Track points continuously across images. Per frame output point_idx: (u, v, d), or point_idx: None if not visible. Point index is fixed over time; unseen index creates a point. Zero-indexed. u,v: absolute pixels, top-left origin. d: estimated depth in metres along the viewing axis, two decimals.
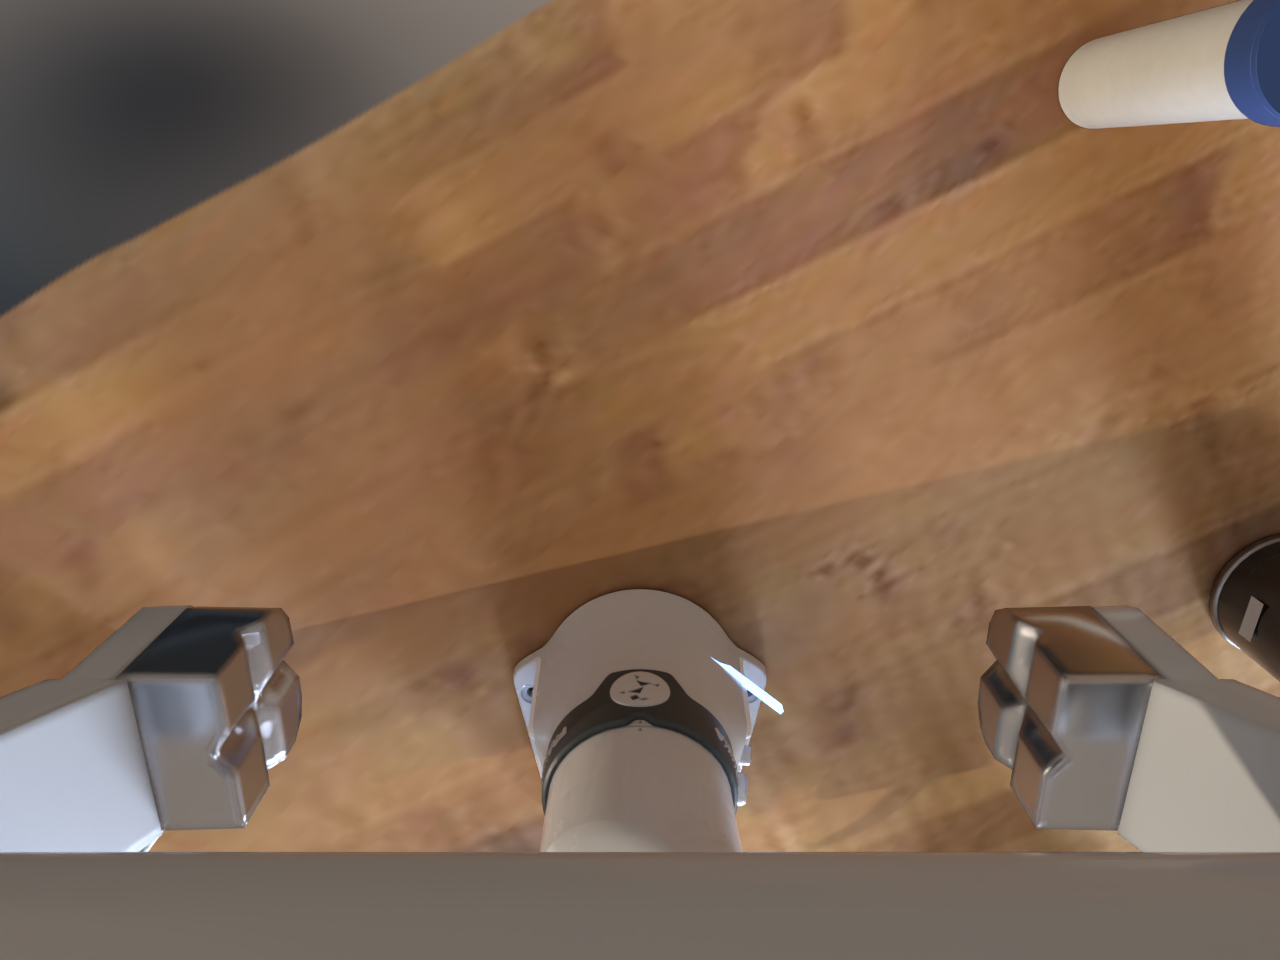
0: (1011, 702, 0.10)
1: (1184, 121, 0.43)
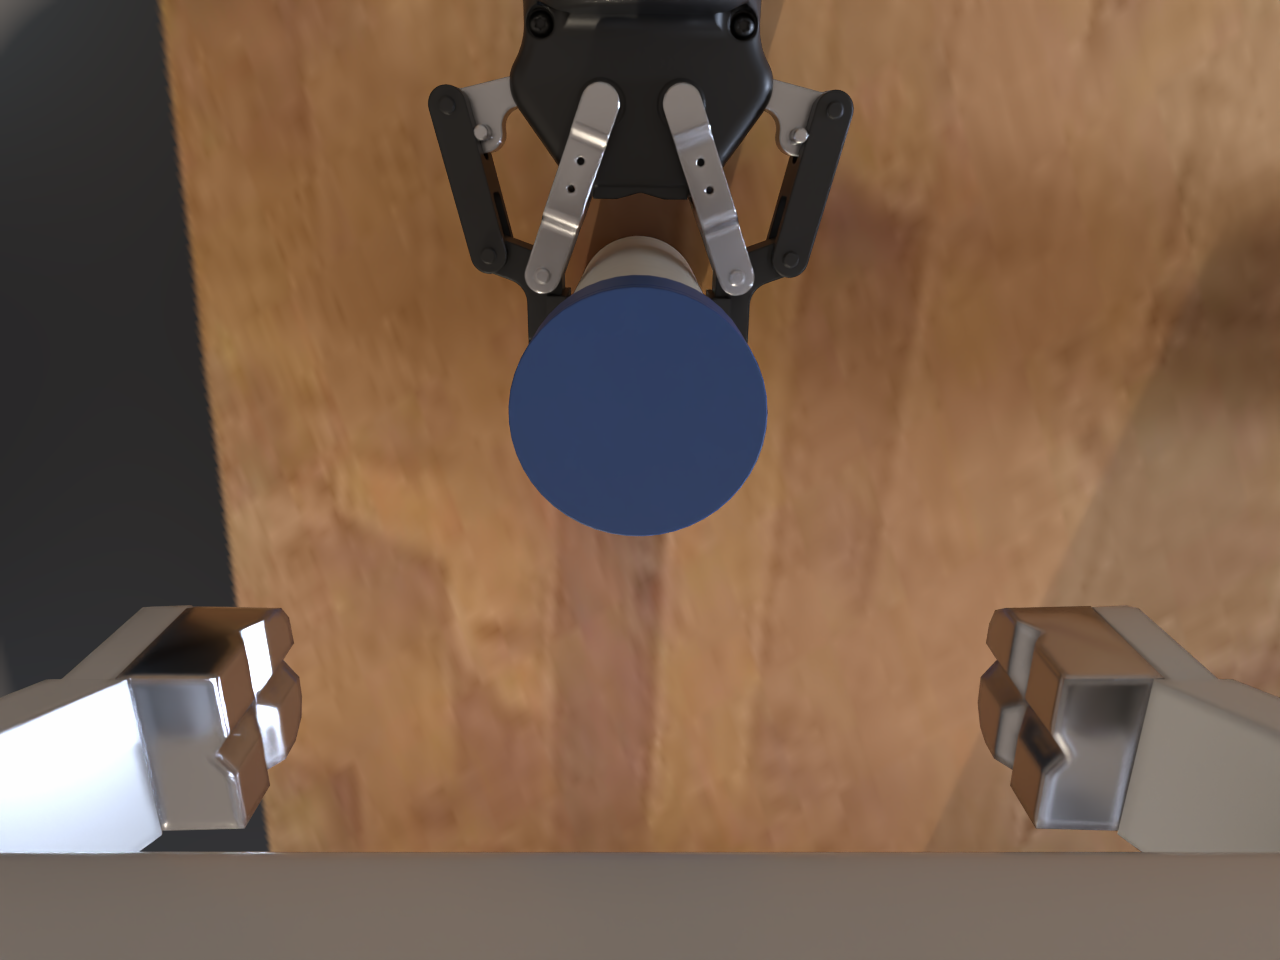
0: (1012, 702, 0.10)
1: None
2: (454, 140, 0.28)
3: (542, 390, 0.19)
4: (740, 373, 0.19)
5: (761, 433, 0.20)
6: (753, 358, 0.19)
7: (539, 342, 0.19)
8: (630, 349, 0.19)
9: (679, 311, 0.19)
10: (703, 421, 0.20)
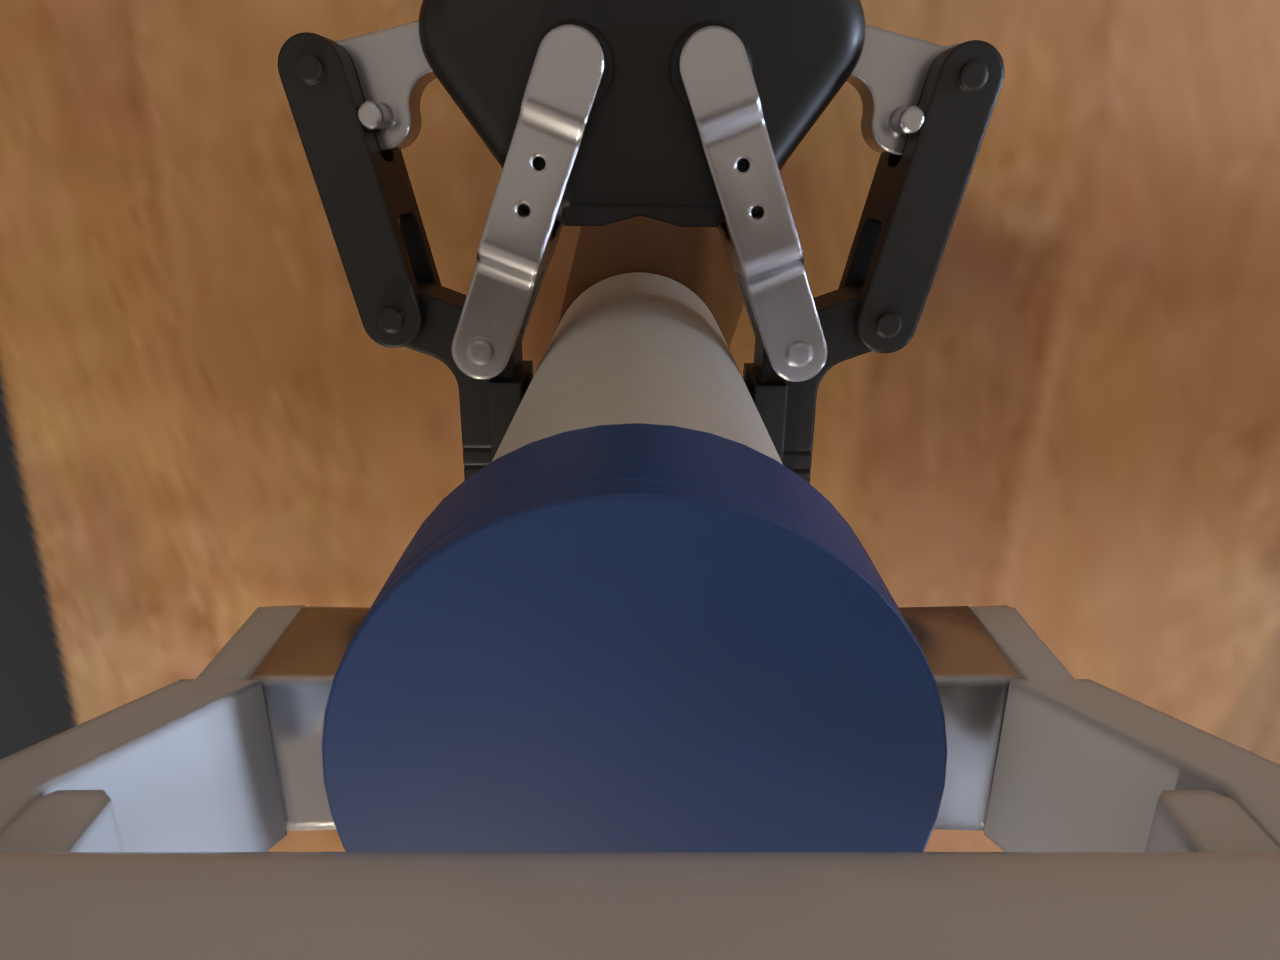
0: None
1: None
2: (325, 129, 0.17)
3: (403, 717, 0.08)
4: (891, 701, 0.08)
5: (926, 828, 0.08)
6: (928, 671, 0.08)
7: (394, 612, 0.08)
8: (623, 637, 0.08)
9: (753, 557, 0.07)
10: (790, 798, 0.08)
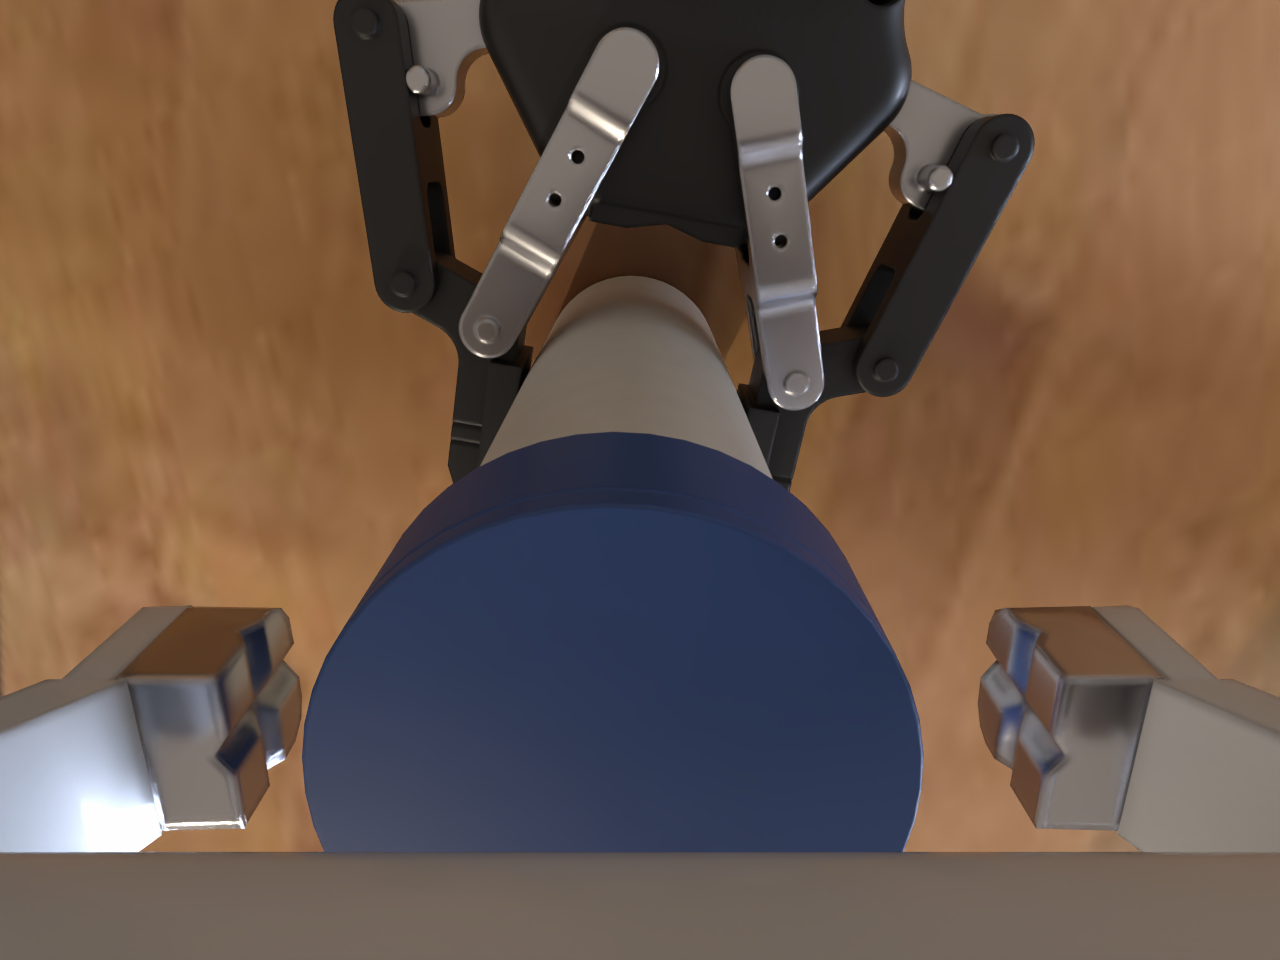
0: (1011, 702, 0.10)
1: None
2: (371, 85, 0.17)
3: None
4: (609, 551, 0.07)
5: (783, 561, 0.07)
6: (584, 509, 0.07)
7: None
8: (451, 746, 0.08)
9: (402, 623, 0.08)
10: (687, 671, 0.08)
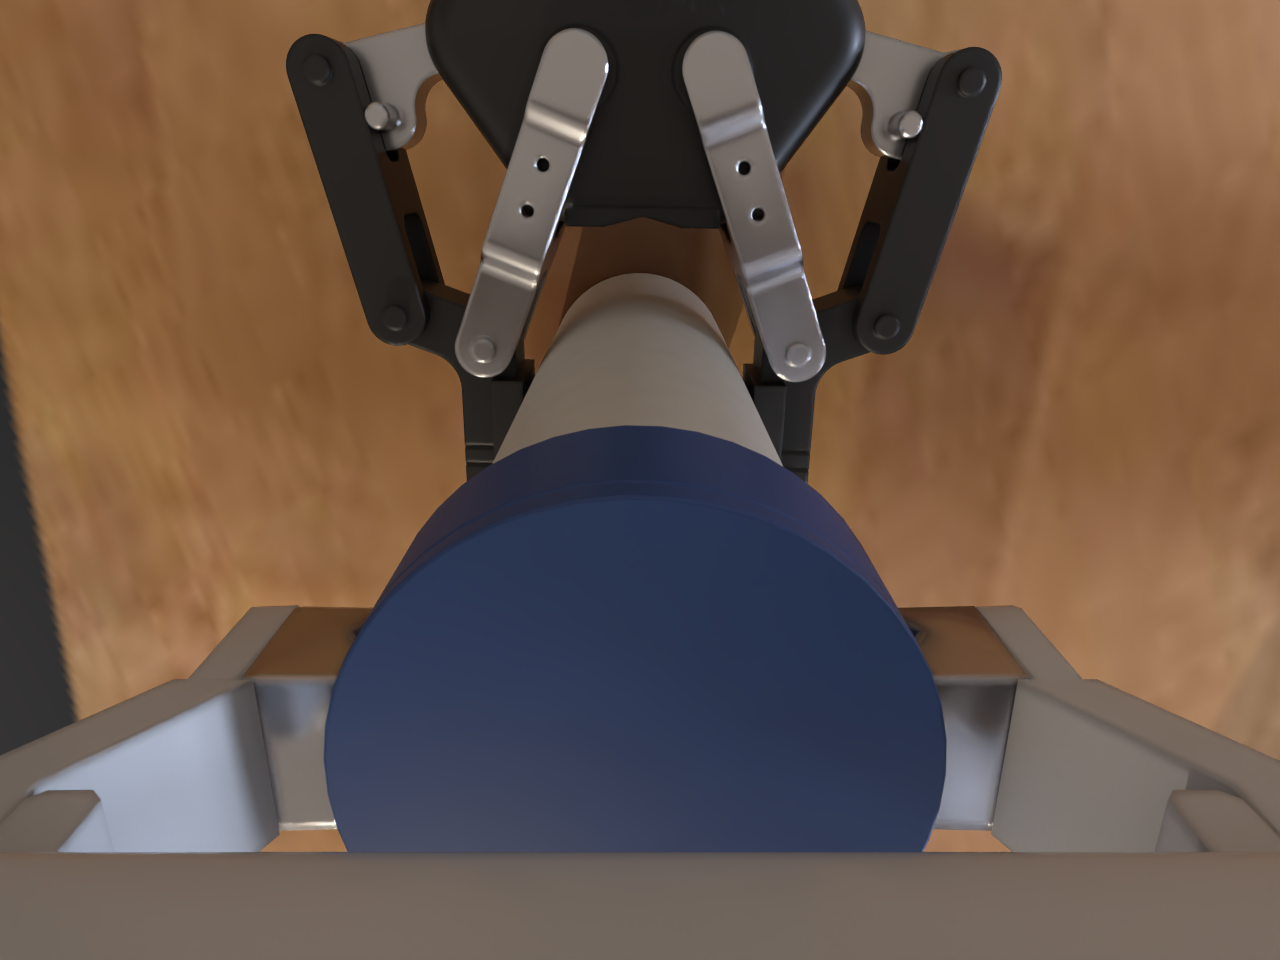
0: None
1: None
2: (332, 129, 0.17)
3: None
4: (587, 547, 0.07)
5: (763, 531, 0.07)
6: (555, 509, 0.07)
7: None
8: (469, 762, 0.08)
9: (399, 647, 0.08)
10: (687, 655, 0.08)
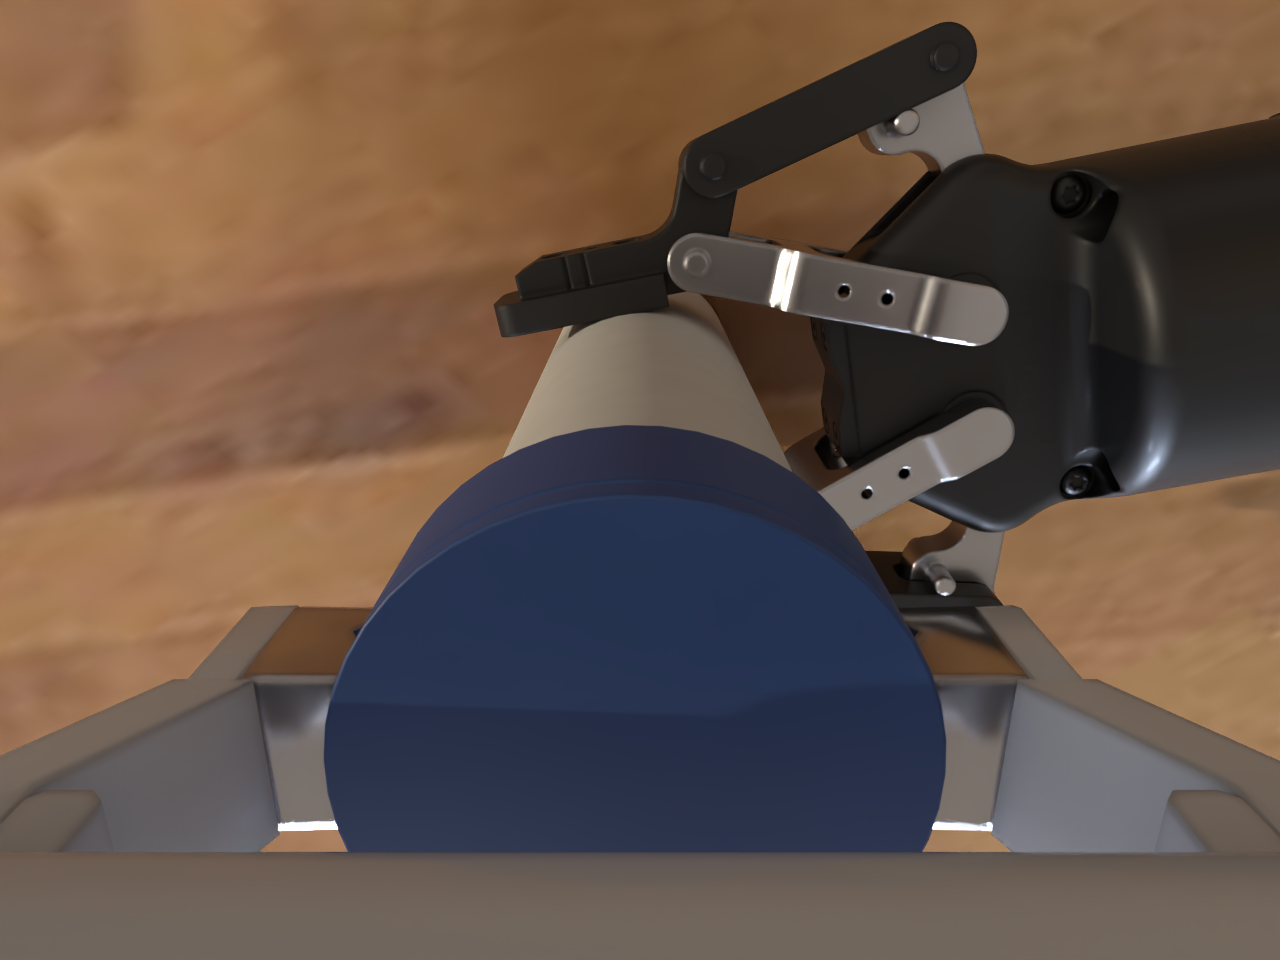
0: None
1: None
2: (891, 78, 0.17)
3: None
4: (586, 546, 0.07)
5: (762, 530, 0.07)
6: (554, 508, 0.07)
7: None
8: (468, 761, 0.08)
9: (398, 647, 0.08)
10: (686, 655, 0.08)
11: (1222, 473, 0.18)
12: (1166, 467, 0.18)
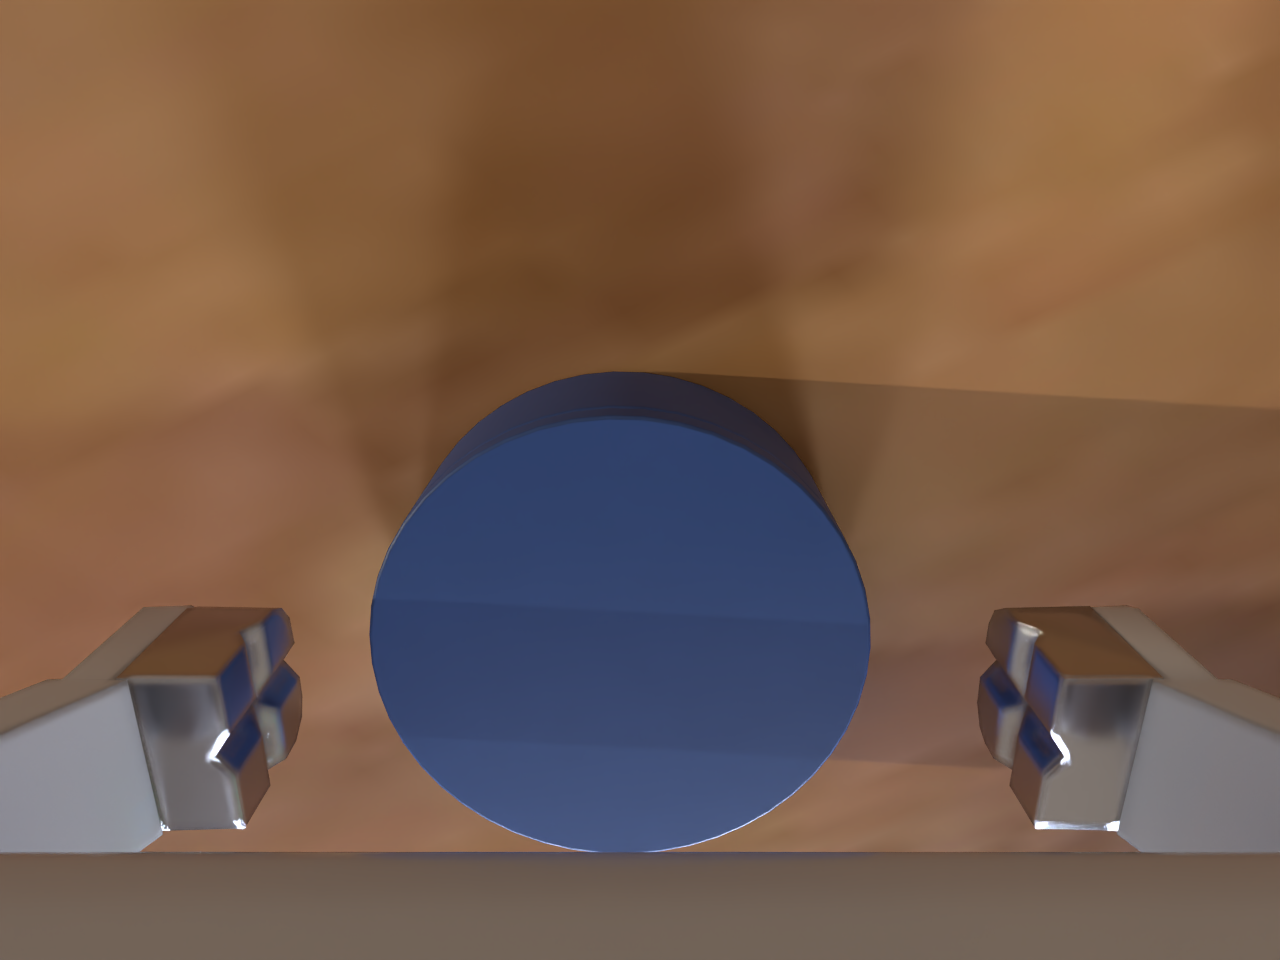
0: (1012, 703, 0.10)
1: None
2: None
3: (526, 788, 0.11)
4: (581, 457, 0.09)
5: (719, 444, 0.09)
6: (555, 426, 0.09)
7: (440, 772, 0.11)
8: (486, 637, 0.10)
9: (431, 540, 0.10)
10: (660, 547, 0.10)
11: None
12: None
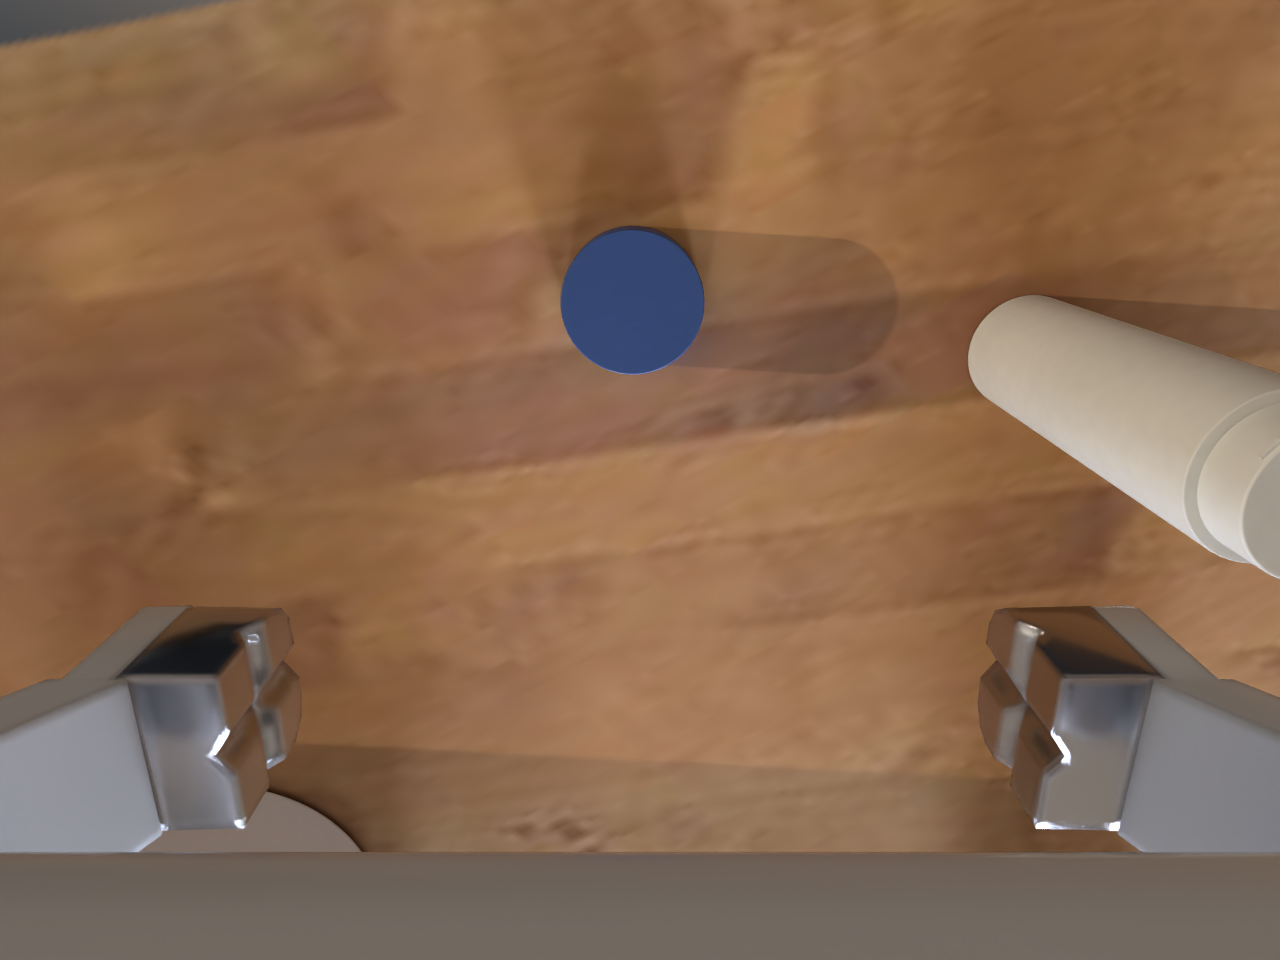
0: (1012, 703, 0.10)
1: None
2: None
3: (604, 350, 0.36)
4: (622, 241, 0.35)
5: (659, 237, 0.35)
6: (615, 232, 0.35)
7: (578, 343, 0.36)
8: (594, 297, 0.35)
9: (580, 266, 0.35)
10: (643, 268, 0.35)
11: None
12: None
